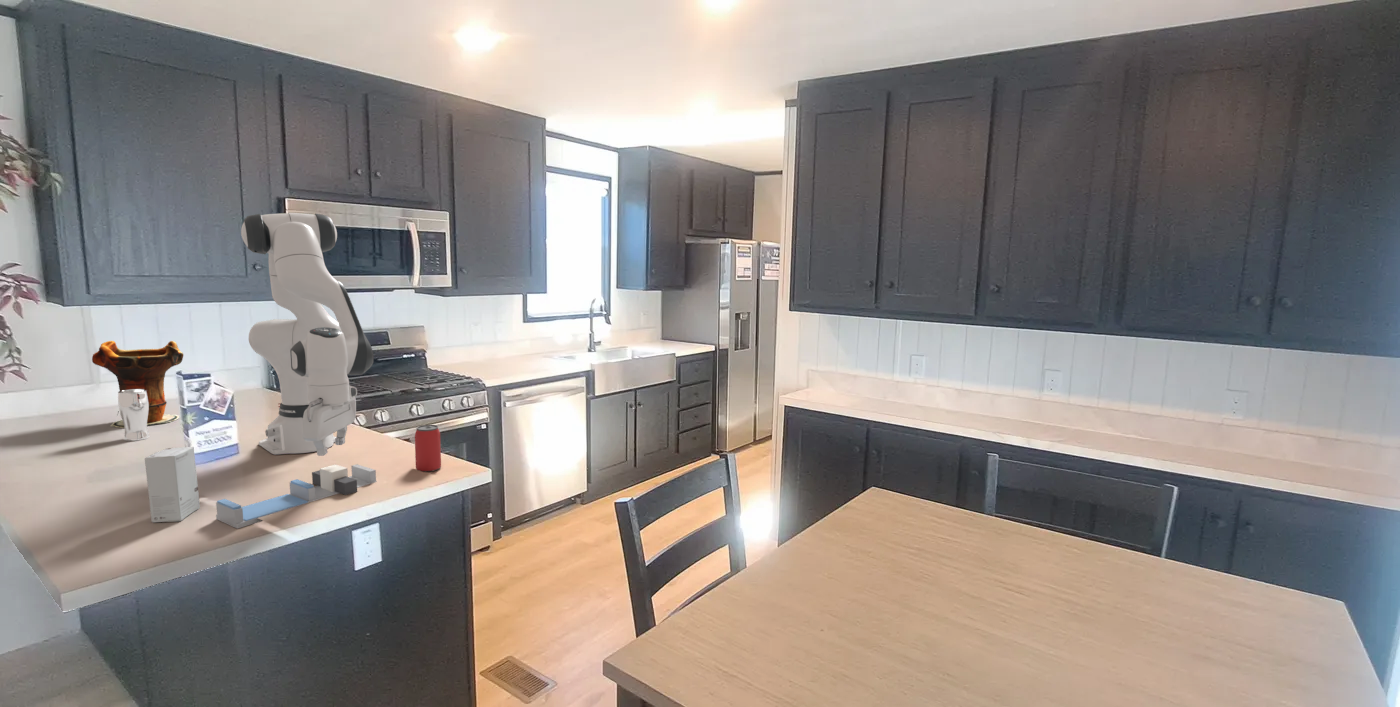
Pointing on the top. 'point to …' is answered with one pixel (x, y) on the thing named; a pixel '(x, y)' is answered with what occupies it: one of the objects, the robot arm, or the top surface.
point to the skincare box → (172, 484)
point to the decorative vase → (141, 374)
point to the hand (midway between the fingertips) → (331, 449)
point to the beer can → (427, 448)
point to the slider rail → (284, 499)
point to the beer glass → (134, 413)
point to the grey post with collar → (335, 479)
